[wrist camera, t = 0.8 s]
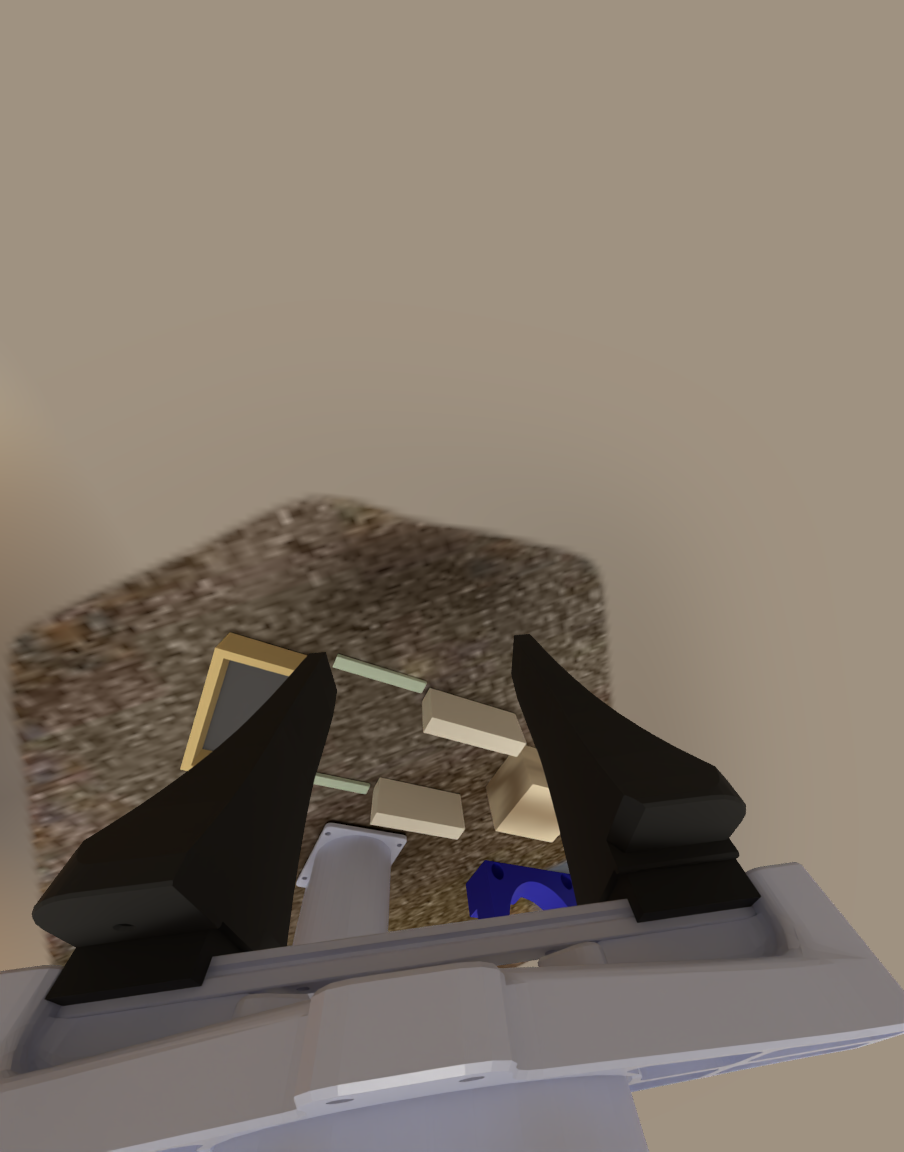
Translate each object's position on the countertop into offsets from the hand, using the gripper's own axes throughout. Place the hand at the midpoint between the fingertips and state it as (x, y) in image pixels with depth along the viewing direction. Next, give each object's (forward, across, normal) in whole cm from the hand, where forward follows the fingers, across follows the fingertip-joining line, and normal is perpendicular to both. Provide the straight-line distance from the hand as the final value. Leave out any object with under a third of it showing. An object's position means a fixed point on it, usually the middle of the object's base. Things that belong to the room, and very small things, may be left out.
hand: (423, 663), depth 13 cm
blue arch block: (+6, -8, +40) cm, 42 cm away
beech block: (+8, -8, +23) cm, 25 cm away
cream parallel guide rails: (+8, 0, +18) cm, 20 cm away
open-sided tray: (+8, +13, +11) cm, 19 cm away
